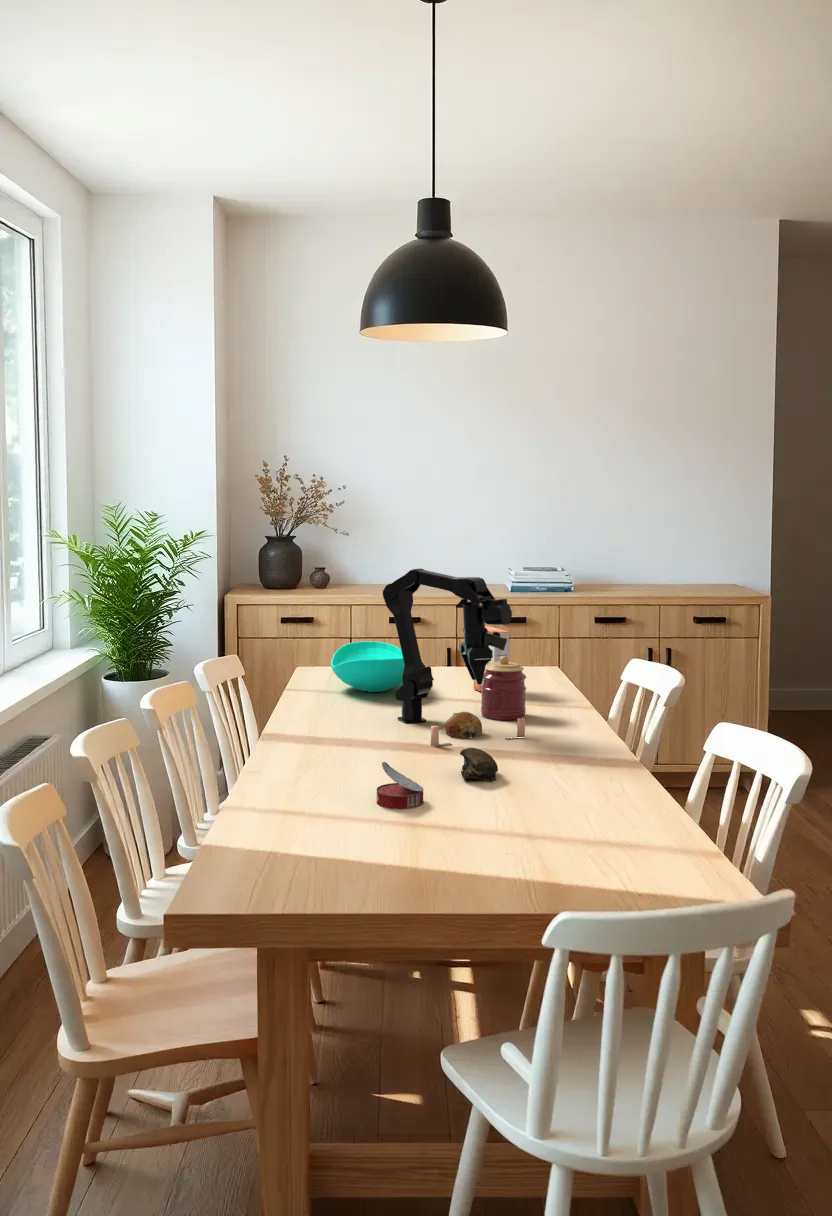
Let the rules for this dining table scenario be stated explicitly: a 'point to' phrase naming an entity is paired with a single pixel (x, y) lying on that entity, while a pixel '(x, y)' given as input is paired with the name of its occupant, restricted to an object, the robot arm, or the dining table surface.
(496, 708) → the canister
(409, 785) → the canned food
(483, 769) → the seashell
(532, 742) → the dining table surface
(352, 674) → the table top decor
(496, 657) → the cracker box
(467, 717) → the bread roll
